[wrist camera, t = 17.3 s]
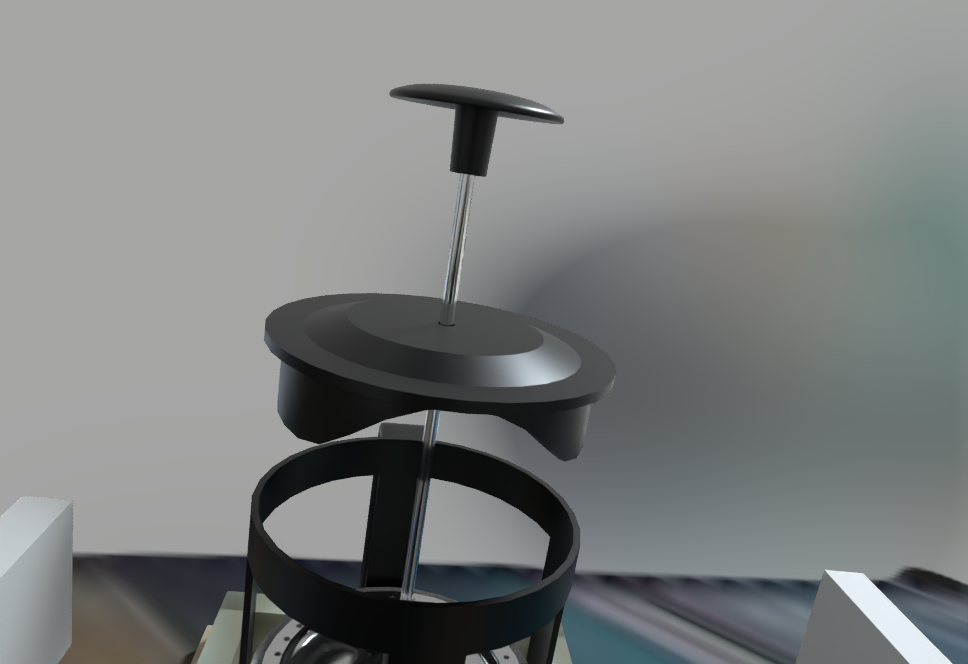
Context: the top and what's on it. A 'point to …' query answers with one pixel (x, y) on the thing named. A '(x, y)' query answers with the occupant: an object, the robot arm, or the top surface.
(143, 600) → the top surface
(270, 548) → the french press
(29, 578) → the robot arm
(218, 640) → the tray
